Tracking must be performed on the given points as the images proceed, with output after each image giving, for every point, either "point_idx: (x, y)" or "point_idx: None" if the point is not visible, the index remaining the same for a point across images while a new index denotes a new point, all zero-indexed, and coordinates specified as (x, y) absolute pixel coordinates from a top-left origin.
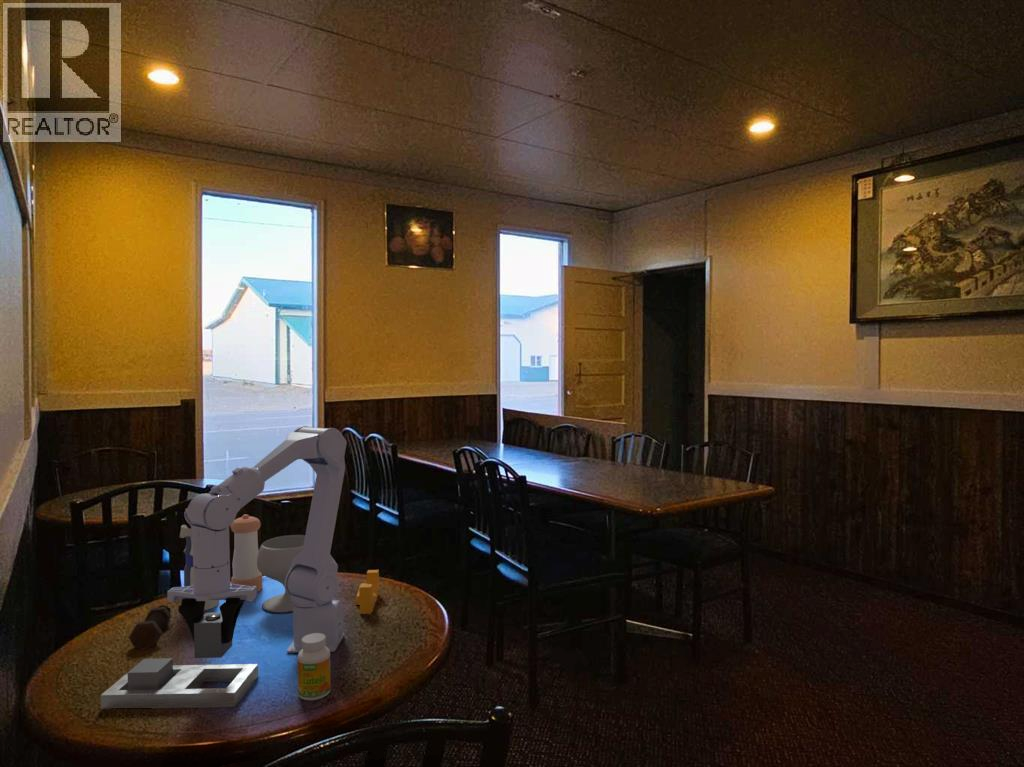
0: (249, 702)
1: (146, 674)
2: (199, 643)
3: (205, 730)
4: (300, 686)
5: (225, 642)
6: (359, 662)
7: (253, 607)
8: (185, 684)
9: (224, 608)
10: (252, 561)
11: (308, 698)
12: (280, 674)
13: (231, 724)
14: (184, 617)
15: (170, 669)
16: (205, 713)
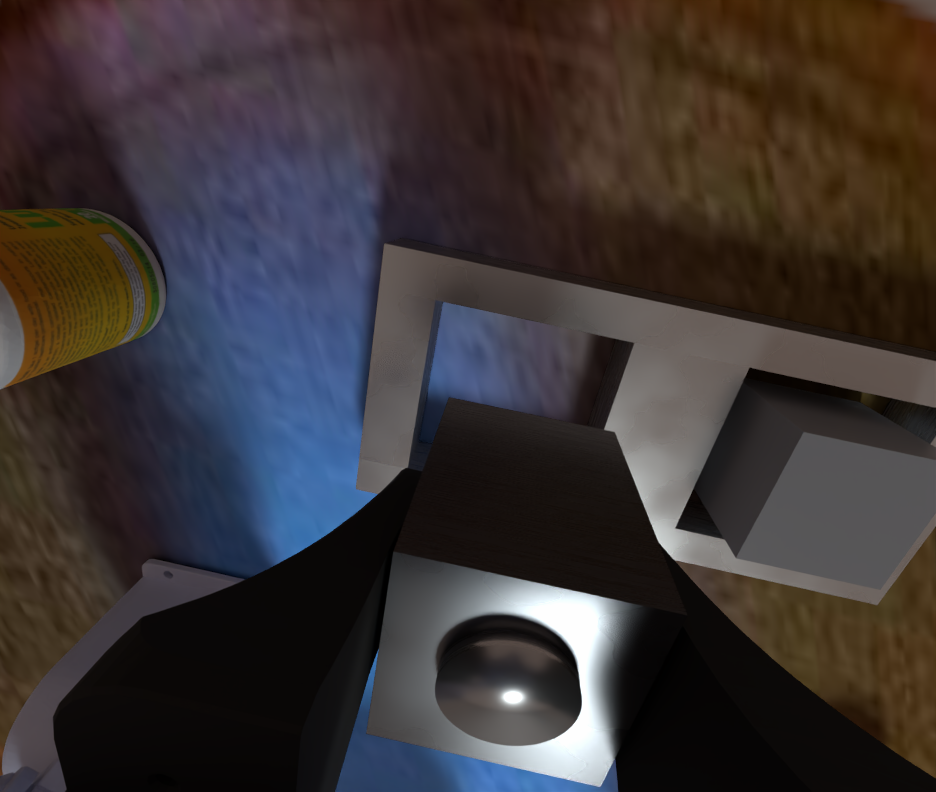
0: (350, 264)
1: (856, 439)
2: (595, 475)
3: (481, 42)
4: (97, 238)
5: (418, 473)
6: (34, 469)
7: None
8: (636, 386)
9: (230, 674)
10: None
11: (96, 211)
12: (293, 457)
13: (375, 75)
14: (829, 711)
15: (726, 511)
16: (515, 212)
